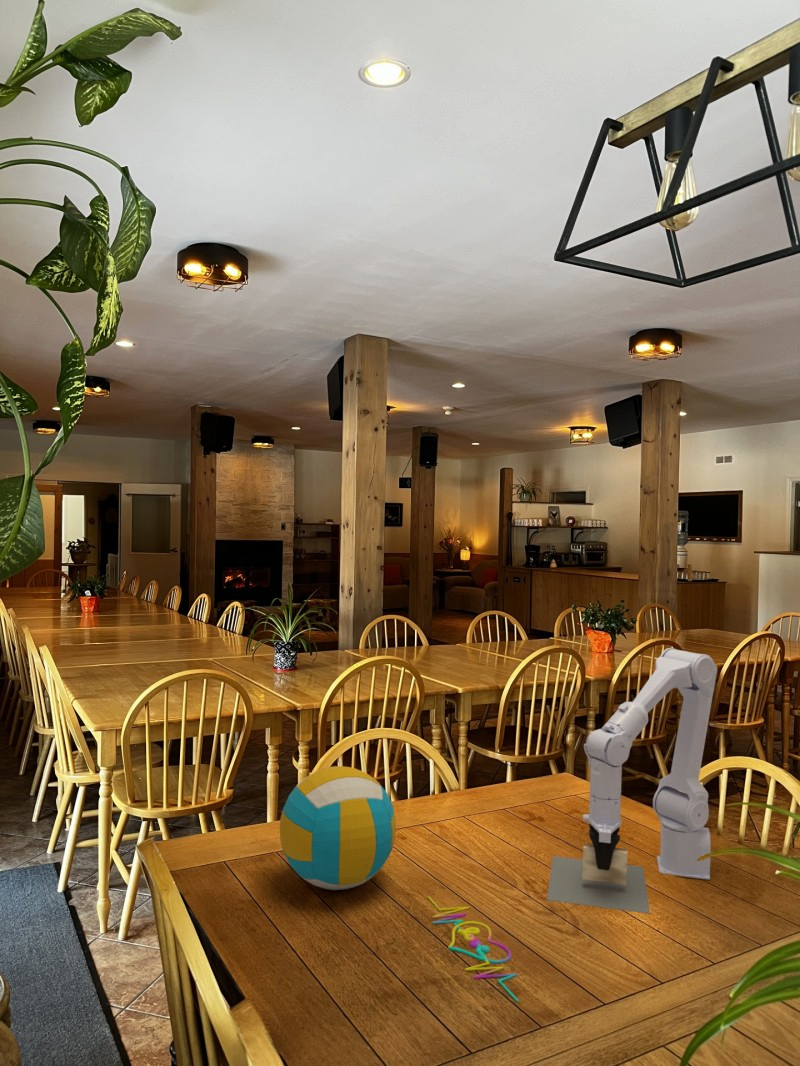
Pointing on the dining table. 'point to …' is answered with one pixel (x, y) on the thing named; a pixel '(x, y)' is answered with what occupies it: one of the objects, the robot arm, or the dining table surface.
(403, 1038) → the dining table surface
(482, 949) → the decorative art
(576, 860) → the mat
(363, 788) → the volleyball
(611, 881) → the tile
